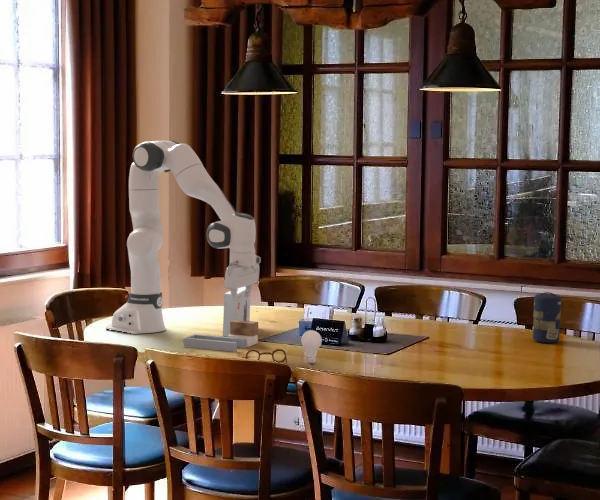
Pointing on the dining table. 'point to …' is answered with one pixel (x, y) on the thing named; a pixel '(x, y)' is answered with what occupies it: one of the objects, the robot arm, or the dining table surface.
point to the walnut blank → (244, 328)
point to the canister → (546, 317)
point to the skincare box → (235, 309)
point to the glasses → (268, 353)
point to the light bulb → (311, 344)
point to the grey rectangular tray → (214, 342)
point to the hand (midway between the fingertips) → (241, 299)
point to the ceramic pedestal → (249, 339)
